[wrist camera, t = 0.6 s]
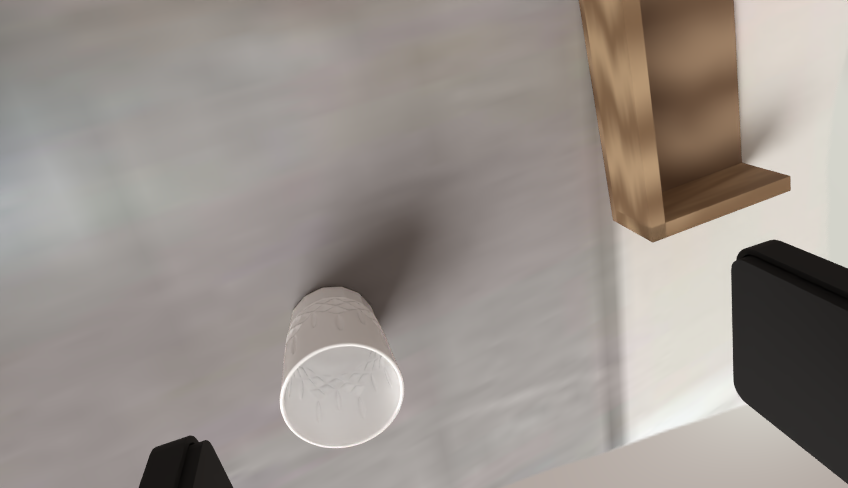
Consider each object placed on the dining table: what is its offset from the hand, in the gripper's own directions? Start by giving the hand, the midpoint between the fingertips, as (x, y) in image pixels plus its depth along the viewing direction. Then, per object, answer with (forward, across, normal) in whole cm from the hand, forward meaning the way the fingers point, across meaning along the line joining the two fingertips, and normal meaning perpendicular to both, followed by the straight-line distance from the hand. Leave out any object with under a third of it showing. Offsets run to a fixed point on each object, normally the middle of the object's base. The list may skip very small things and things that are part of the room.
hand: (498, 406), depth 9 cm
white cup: (+33, +5, +15) cm, 36 cm away
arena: (+33, -26, +4) cm, 42 cm away
